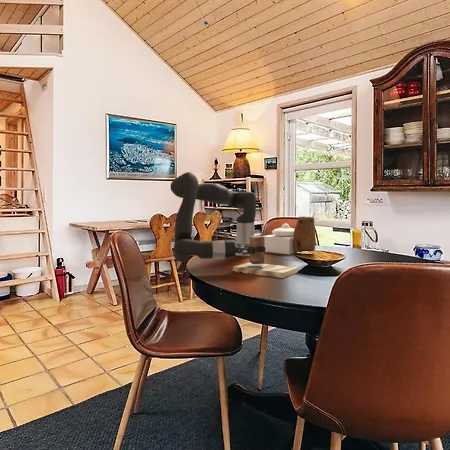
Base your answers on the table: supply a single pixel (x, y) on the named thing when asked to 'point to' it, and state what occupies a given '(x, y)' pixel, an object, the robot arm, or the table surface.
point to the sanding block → (259, 256)
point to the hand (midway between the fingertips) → (263, 248)
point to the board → (266, 269)
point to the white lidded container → (280, 240)
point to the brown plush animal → (304, 235)
